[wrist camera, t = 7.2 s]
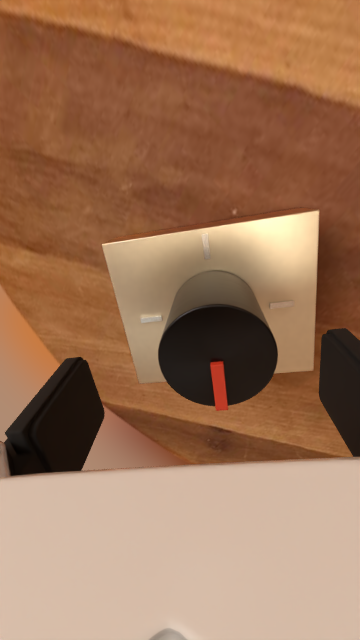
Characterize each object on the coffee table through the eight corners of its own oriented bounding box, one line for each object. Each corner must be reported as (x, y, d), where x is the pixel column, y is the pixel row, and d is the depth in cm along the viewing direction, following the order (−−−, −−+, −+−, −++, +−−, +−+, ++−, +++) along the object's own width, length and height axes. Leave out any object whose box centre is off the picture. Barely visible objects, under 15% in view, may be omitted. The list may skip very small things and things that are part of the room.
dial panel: (147, 361, 23) (138, 385, 20) (116, 236, 19) (99, 244, 16) (300, 348, 21) (314, 372, 18) (302, 206, 17) (321, 209, 14)
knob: (165, 276, 16) (145, 314, 11) (255, 264, 16) (279, 300, 10) (179, 351, 18) (167, 414, 13) (258, 344, 18) (280, 408, 12)
